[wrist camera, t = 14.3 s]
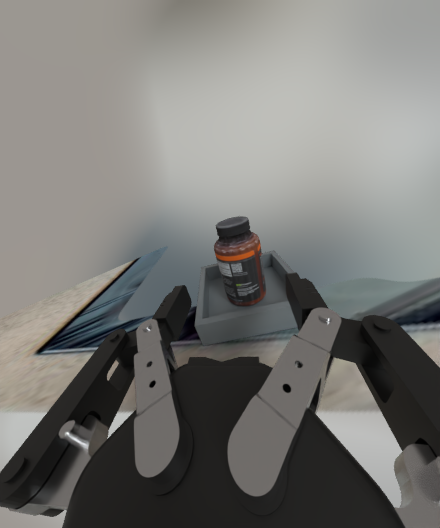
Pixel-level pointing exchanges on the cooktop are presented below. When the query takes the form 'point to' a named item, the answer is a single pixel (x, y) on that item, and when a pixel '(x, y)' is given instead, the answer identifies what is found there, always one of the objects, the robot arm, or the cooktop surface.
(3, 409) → the cooktop surface
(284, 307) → the tray
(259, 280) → the supplement bottle
